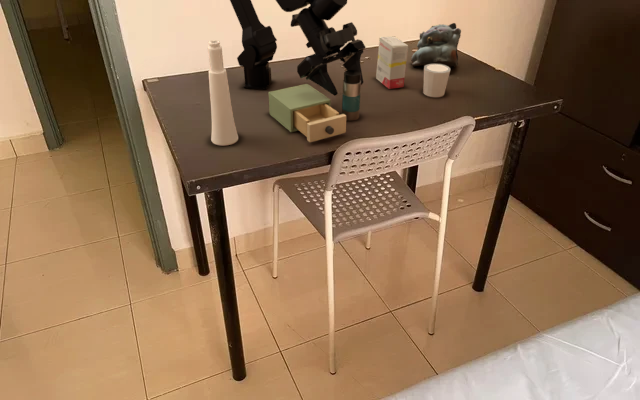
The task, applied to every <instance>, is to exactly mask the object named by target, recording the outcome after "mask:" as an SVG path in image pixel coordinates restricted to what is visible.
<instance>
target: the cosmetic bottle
mask: <svg viewBox="0 0 640 400" xmlns="http://www.w3.org/2000/svg"><path fill="white" fill-rule="evenodd" d="M207 43H208V47H207V52H208V63H209V69H208V87H209V98H210V99H209V100H210V113H211V114H210V115H211V136H210V140H211V142H212V144H213V145H217V146H223V147H225V146H229V145H230V146H231V145H234V144H235V143H237V142H238V141H239V134H238V131H237V127H236V123H235V118H234V113H233V107H232V100H231V99H232V98H231V94H230V86H229V81H228V73H227V69H226V68H225V66H224V58H223V57H224V55H223V47H222V46H221V42H220V40H214V39H213V40H209V41H208V42H207Z"/></svg>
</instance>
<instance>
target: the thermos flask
mask: <svg viewBox="0 0 640 400" xmlns="http://www.w3.org/2000/svg"><path fill="white" fill-rule="evenodd" d="M361 89H362V85H361V72H360V71H357V70H344V72H343V79H342V96H341V97H342V99H341V114H345V115H346V121H349V122H350V121H357V120H359V118H360V109H361V108H360V107H361Z"/></svg>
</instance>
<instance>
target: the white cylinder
mask: <svg viewBox="0 0 640 400" xmlns="http://www.w3.org/2000/svg"><path fill="white" fill-rule="evenodd" d="M450 73H451V67H449V66H446V65H442V64H428V65H423V84H422V87H423V88H422V89H423V90H422V93H423V94H424V95H425V96H427V97H430V98H441V97H444V96H445V93H446V90H447V85H448V82H449V77H450Z"/></svg>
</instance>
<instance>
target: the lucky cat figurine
mask: <svg viewBox="0 0 640 400" xmlns="http://www.w3.org/2000/svg"><path fill="white" fill-rule="evenodd" d="M461 33H462V29H461V28H459V27H457V23H455V22H452V23H450V24H449V25H447V24H444V23H443V24H437V25H432V26H431V27H430V28H429V29H427V30H426V31H422V32H421V33H419V40H418V42H417V45H416V47H417V50H416V51H414V53H413V54H411V59H410V60H411V63H410V65H411V66H412V67H413V68H414V67H418V66H426V65H428V64H442V65H446V66H448V67H449V68H455V67H458V66H459V63H458V62H459V54H458V47H459V43H460V38H461V36H462V35H461Z"/></svg>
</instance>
